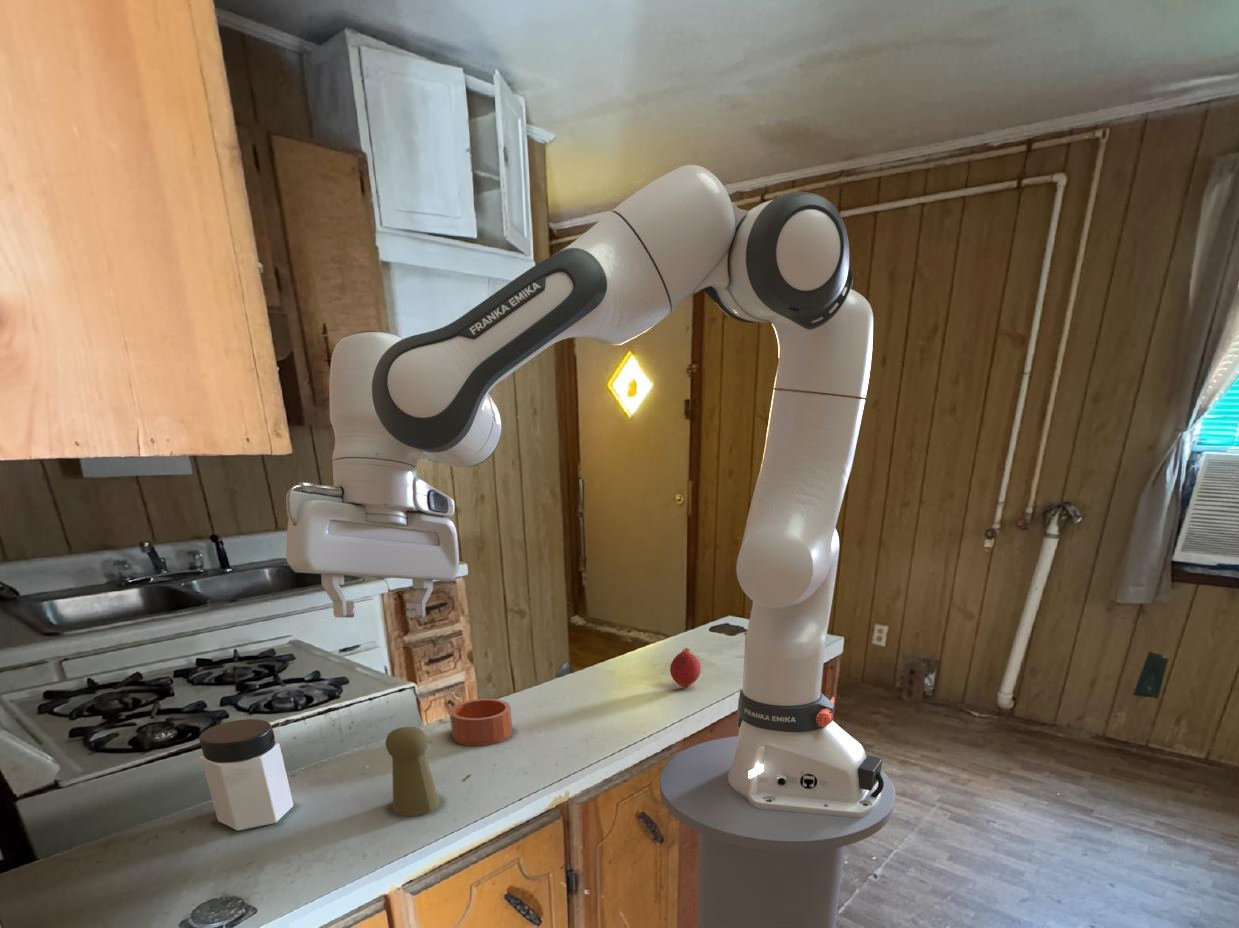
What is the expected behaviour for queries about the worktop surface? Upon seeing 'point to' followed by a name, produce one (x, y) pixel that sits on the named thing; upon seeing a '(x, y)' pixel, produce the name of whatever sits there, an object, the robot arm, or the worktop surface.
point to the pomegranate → (685, 668)
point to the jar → (245, 773)
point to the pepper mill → (411, 772)
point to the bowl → (481, 722)
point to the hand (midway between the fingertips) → (381, 617)
